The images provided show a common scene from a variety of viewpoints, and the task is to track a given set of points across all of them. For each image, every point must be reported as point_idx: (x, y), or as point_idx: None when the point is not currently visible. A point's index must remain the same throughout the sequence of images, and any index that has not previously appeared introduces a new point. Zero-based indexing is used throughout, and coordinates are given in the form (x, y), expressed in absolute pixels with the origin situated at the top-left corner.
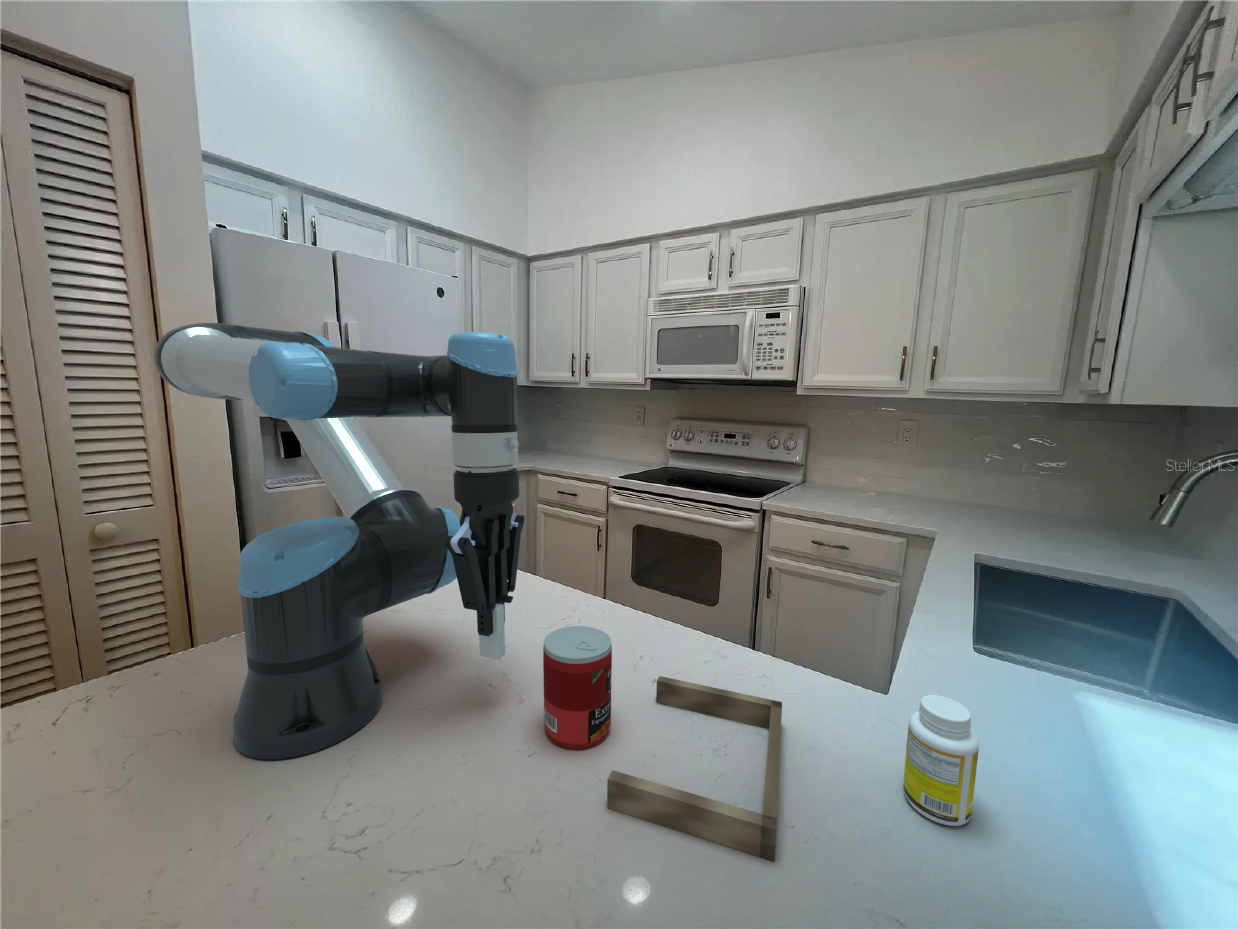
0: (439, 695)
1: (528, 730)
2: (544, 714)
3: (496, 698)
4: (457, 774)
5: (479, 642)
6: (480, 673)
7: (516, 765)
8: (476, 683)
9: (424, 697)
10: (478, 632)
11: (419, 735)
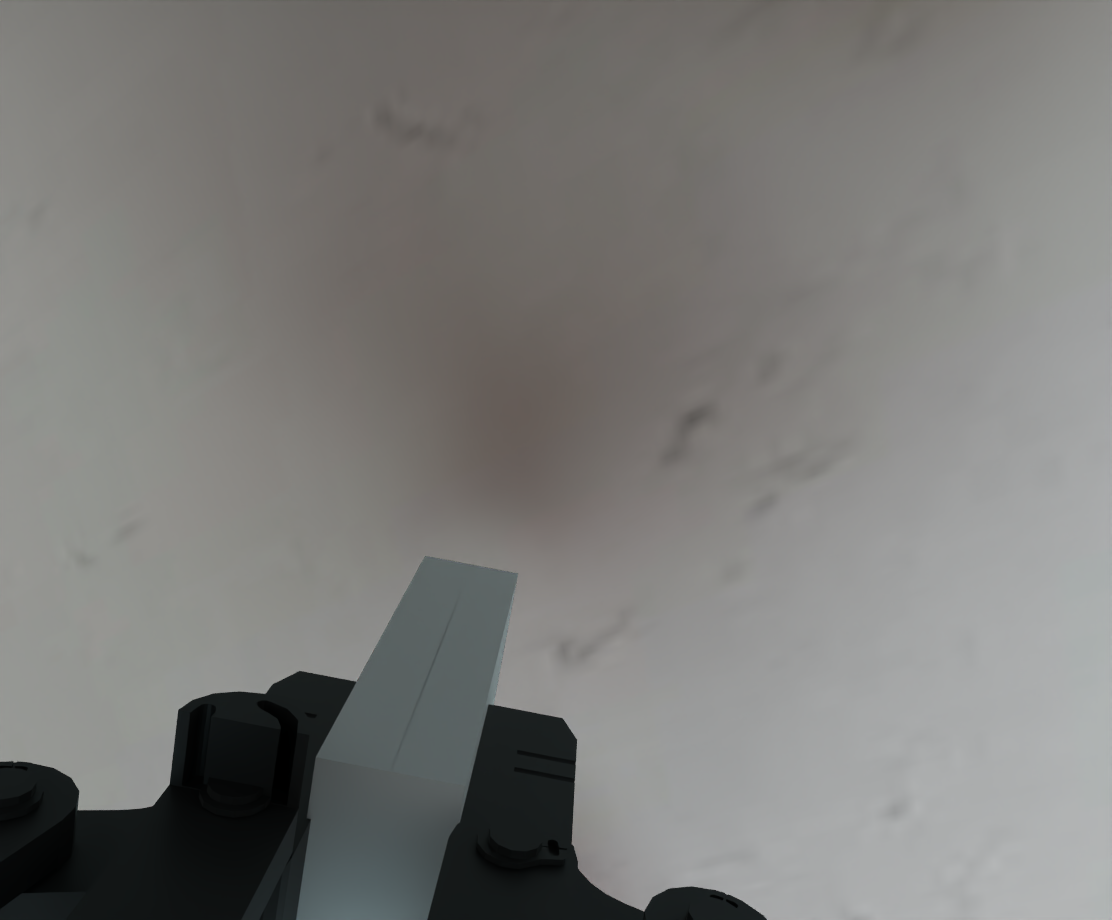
0: (534, 152)
1: None
2: None
3: (571, 508)
4: (16, 559)
5: (404, 594)
6: (810, 298)
7: (134, 780)
8: (695, 324)
9: (496, 66)
10: (281, 685)
11: (188, 240)
